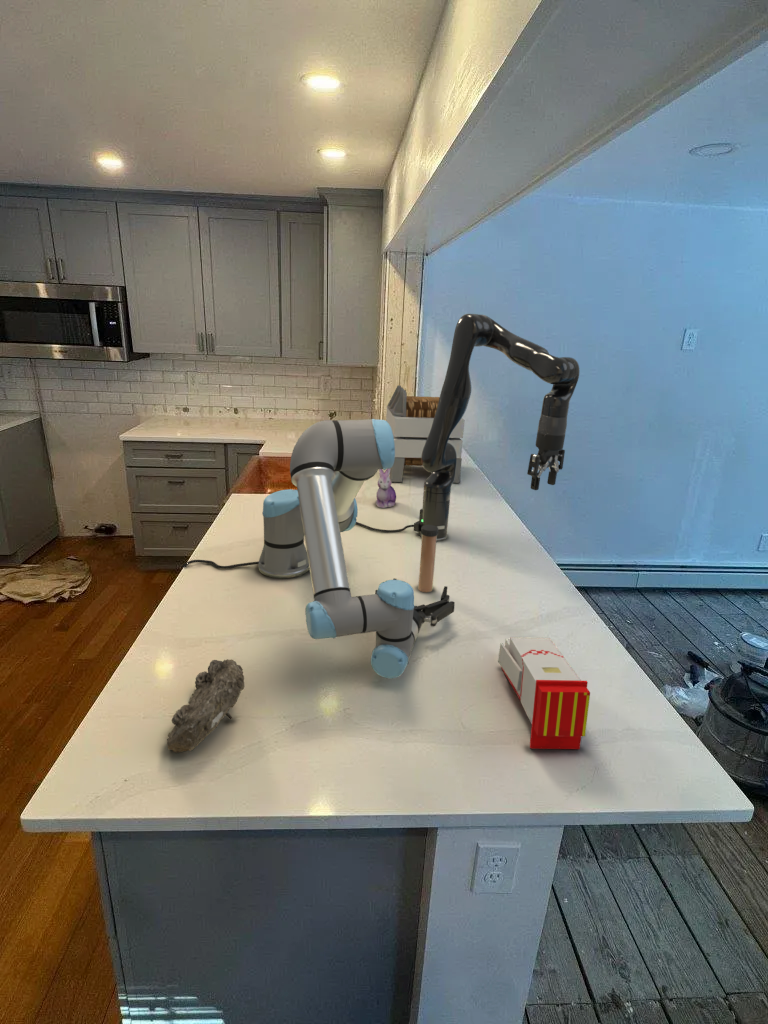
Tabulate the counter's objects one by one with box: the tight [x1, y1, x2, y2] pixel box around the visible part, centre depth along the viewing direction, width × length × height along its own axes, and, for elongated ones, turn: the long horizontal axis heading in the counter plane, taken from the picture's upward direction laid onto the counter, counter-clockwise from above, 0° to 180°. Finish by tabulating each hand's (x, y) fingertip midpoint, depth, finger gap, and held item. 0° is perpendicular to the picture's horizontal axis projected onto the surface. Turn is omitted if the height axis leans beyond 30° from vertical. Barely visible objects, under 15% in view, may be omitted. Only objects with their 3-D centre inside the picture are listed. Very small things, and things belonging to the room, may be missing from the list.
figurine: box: [375, 468, 397, 509], centre depth 226 cm, size 9×10×15 cm
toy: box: [497, 636, 591, 750], centre depth 115 cm, size 12×13×30 cm
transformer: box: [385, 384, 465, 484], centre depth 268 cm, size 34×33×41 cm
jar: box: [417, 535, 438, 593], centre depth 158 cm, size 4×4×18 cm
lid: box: [421, 525, 438, 537], centre depth 155 cm, size 5×5×2 cm
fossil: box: [166, 658, 245, 754], centre depth 106 cm, size 22×10×15 cm
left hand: (420, 587), depth 149 cm, fingers open, 13 cm apart
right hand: (542, 486), depth 163 cm, fingers open, 8 cm apart
